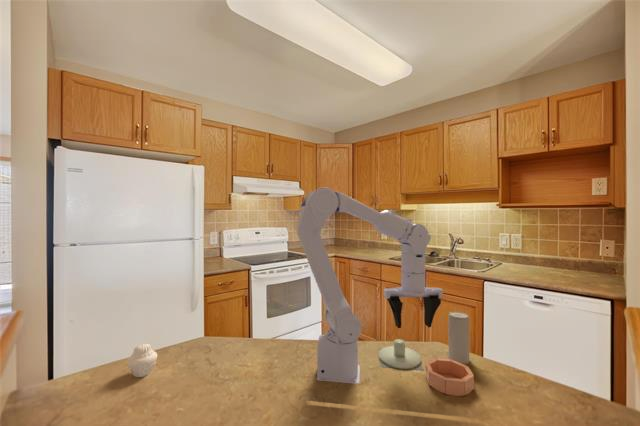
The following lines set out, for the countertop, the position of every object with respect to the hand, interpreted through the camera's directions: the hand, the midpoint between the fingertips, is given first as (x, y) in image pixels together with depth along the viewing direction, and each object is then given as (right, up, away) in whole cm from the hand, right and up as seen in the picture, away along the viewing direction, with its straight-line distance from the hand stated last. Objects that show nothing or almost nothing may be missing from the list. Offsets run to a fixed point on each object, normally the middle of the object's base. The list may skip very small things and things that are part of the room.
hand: (413, 326), depth 72 cm
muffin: (-65, -10, -3) cm, 66 cm away
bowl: (+5, -10, -8) cm, 14 cm away
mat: (-3, -10, +3) cm, 11 cm away
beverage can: (+12, -10, +2) cm, 16 cm away
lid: (-3, -9, +3) cm, 10 cm away
